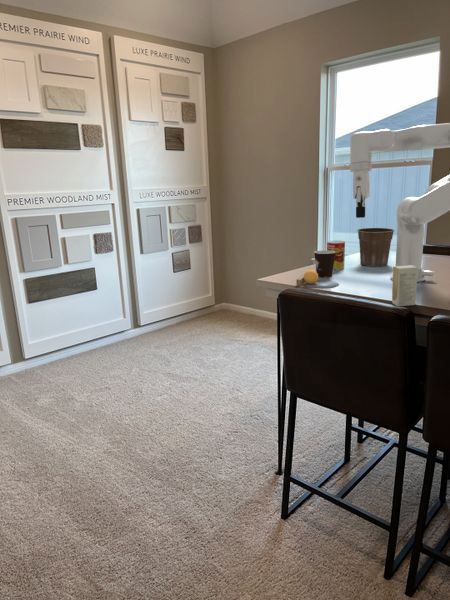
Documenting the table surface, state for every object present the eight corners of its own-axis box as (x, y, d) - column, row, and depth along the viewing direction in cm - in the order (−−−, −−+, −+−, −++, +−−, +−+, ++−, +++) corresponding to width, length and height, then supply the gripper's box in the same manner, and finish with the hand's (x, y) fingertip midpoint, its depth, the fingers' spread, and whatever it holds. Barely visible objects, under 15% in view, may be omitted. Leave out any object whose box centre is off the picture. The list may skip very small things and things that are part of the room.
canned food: (324, 267, 208) (324, 241, 205) (340, 266, 209) (341, 240, 206) (329, 270, 201) (330, 243, 198) (346, 269, 201) (347, 242, 198)
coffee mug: (335, 277, 185) (335, 253, 182) (313, 277, 187) (314, 253, 184) (334, 272, 196) (334, 249, 193) (314, 272, 198) (314, 249, 195)
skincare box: (410, 302, 145) (412, 264, 142) (416, 305, 141) (418, 267, 138) (390, 302, 145) (392, 265, 142) (395, 306, 141) (398, 268, 138)
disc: (342, 281, 177) (342, 281, 177) (334, 289, 166) (334, 288, 166) (309, 279, 183) (309, 279, 183) (300, 286, 172) (300, 286, 171)
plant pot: (395, 267, 200) (397, 231, 196) (358, 268, 203) (359, 232, 199) (388, 261, 216) (390, 227, 212) (354, 261, 218) (355, 228, 214)
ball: (320, 282, 177) (319, 268, 175) (316, 285, 172) (315, 271, 171) (306, 282, 179) (305, 268, 178) (302, 285, 174) (301, 271, 173)
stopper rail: (307, 280, 182) (307, 274, 181) (300, 286, 173) (300, 279, 172) (304, 280, 182) (304, 274, 182) (296, 285, 174) (296, 279, 173)
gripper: (368, 166, 159) (368, 219, 163) (373, 166, 172) (373, 215, 177) (347, 168, 162) (347, 219, 167) (353, 168, 175) (353, 216, 180)
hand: (360, 217), depth 172 cm, fingers closed
